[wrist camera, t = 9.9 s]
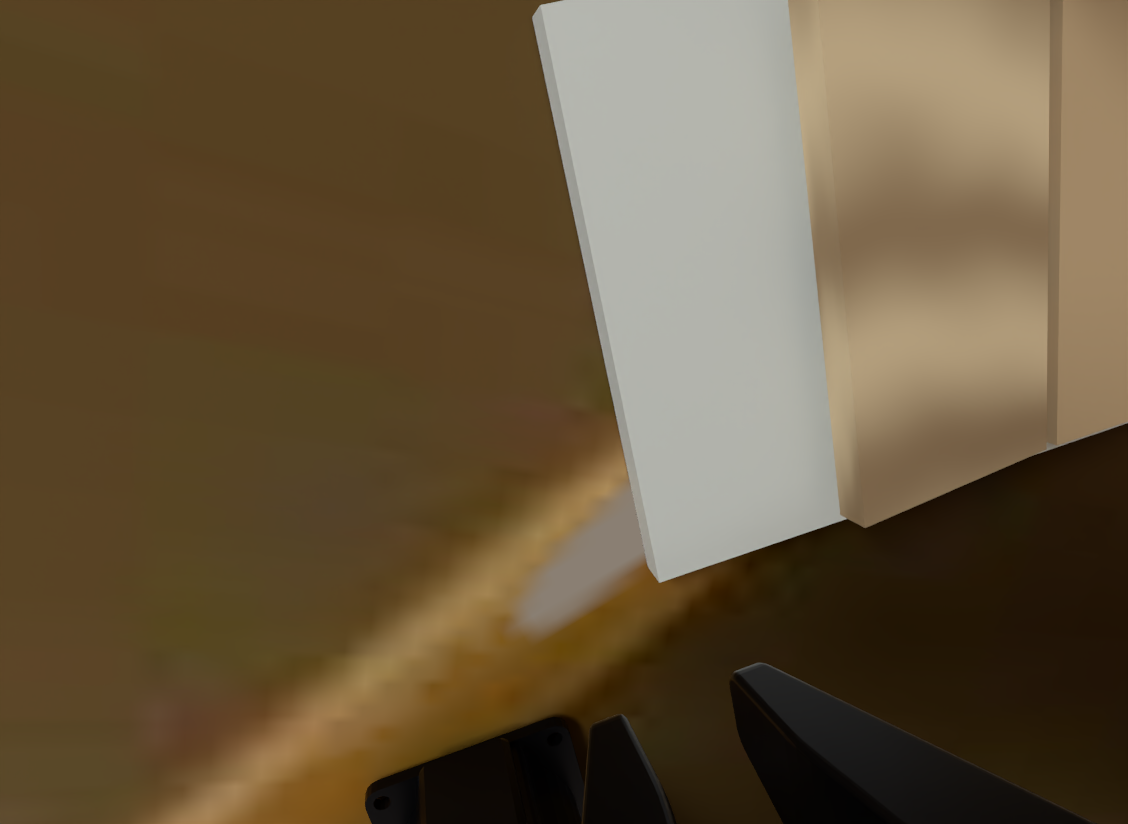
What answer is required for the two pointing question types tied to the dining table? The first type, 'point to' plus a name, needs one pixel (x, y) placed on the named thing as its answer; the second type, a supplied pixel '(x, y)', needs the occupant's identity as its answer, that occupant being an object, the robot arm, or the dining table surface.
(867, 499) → the click plank
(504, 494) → the dining table surface
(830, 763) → the robot arm
